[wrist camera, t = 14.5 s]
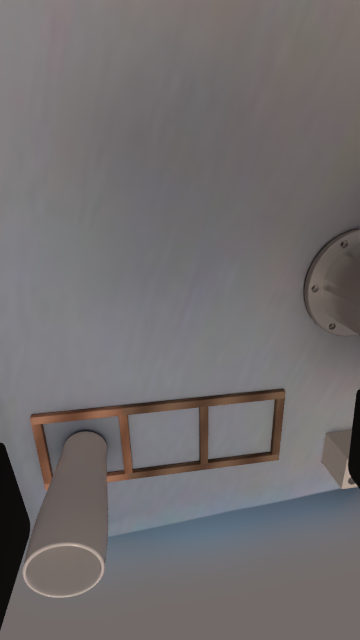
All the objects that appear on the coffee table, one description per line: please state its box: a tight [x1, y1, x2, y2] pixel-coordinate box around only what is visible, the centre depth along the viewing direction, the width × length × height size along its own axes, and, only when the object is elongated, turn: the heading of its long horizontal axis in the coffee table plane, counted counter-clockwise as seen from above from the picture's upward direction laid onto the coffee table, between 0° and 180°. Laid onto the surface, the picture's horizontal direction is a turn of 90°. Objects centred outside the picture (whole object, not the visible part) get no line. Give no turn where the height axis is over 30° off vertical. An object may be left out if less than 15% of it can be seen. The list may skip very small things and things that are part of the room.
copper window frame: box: [30, 389, 285, 490], centre depth 43 cm, size 31×11×1 cm, turn 91°
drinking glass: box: [23, 431, 108, 597], centre depth 35 cm, size 7×7×15 cm
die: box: [322, 430, 358, 489], centre depth 46 cm, size 5×5×5 cm
